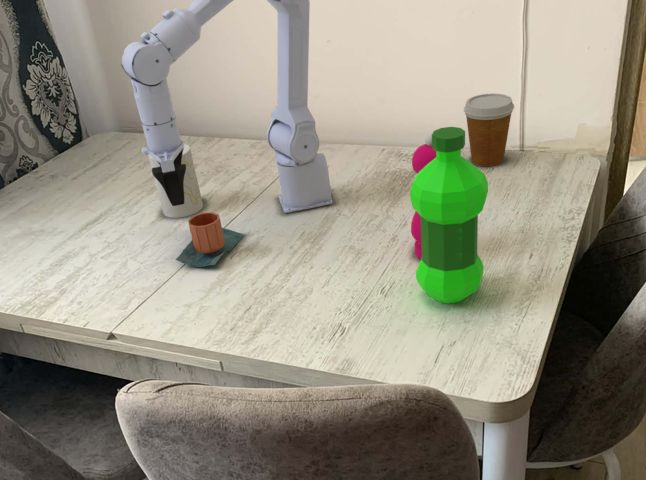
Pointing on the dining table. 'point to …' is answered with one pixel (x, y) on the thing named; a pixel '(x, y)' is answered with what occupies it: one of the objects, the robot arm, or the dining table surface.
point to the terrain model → (205, 259)
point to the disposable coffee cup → (488, 127)
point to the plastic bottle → (449, 219)
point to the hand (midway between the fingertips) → (177, 195)
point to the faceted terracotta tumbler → (206, 232)
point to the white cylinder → (190, 189)
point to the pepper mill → (418, 163)
